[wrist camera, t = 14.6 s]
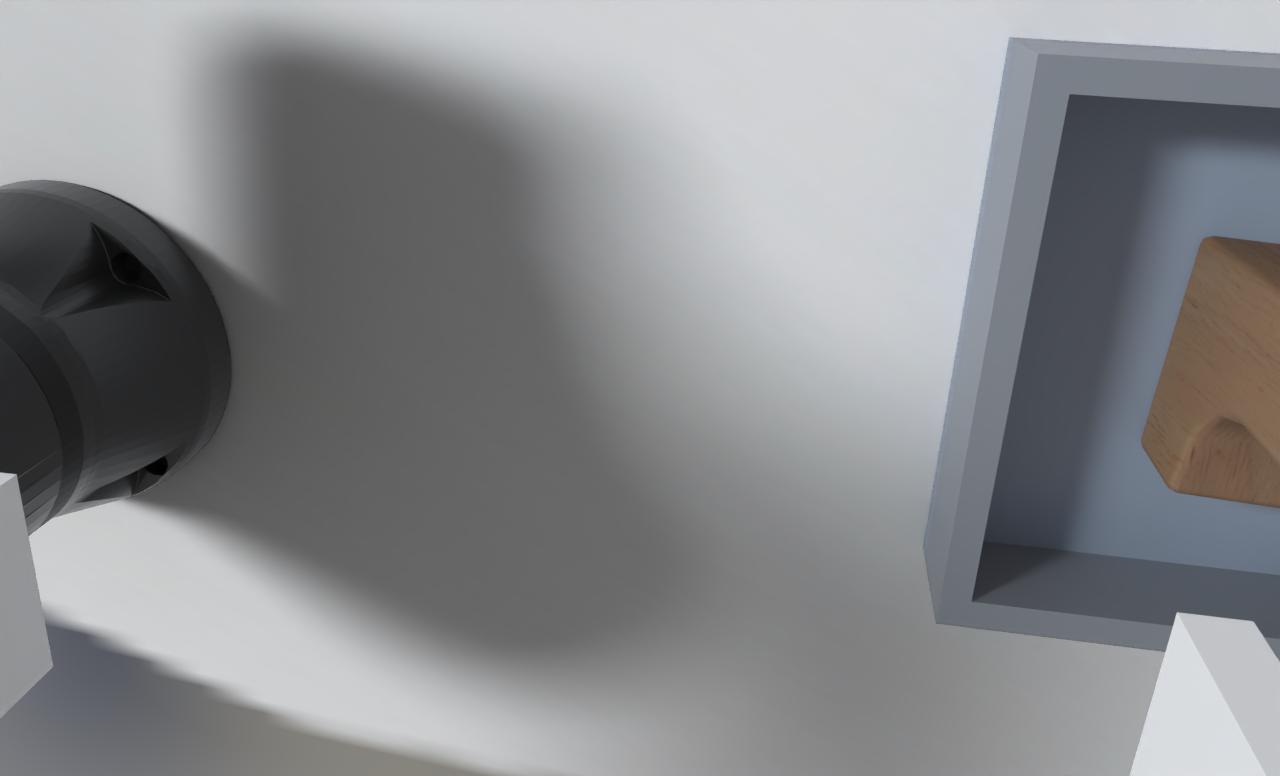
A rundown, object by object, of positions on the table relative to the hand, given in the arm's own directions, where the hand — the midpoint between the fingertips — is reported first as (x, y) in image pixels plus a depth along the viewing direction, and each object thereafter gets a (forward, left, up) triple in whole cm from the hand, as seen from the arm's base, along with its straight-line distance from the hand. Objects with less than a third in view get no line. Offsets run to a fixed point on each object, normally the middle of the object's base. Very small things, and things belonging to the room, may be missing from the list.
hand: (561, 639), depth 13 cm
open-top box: (+19, -7, -34) cm, 40 cm away
